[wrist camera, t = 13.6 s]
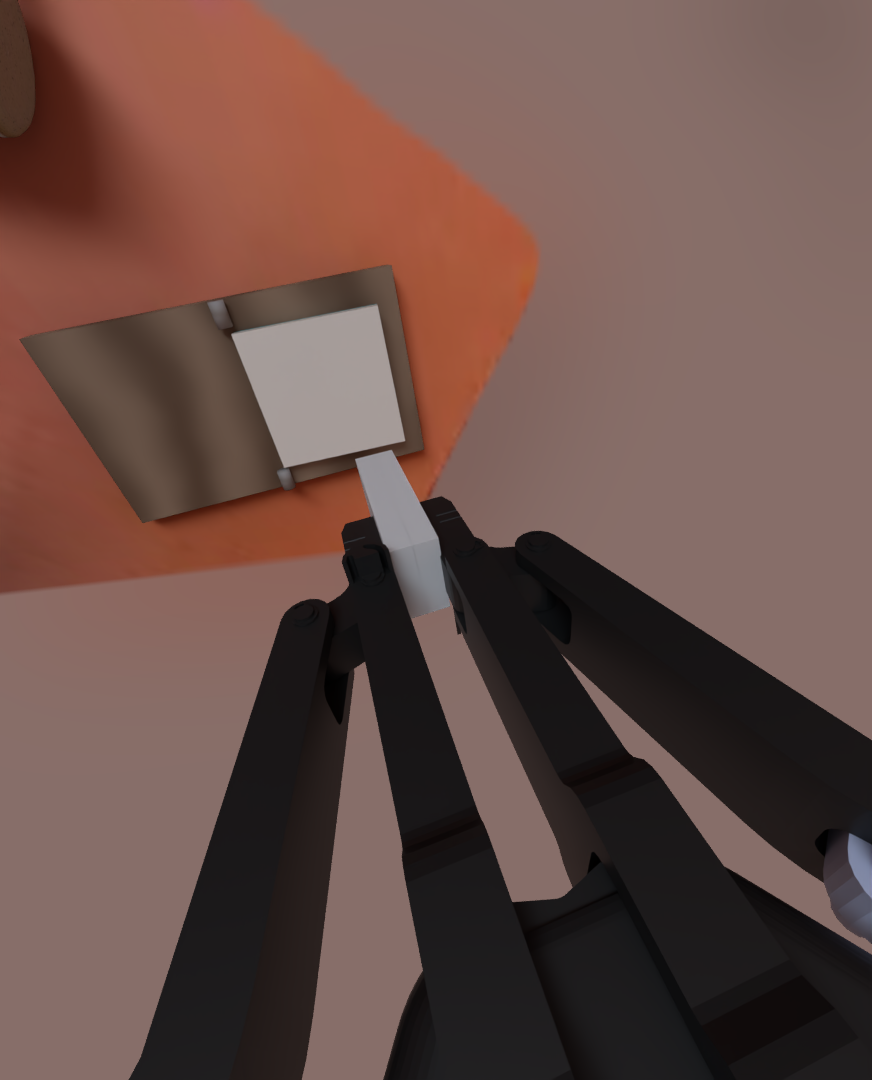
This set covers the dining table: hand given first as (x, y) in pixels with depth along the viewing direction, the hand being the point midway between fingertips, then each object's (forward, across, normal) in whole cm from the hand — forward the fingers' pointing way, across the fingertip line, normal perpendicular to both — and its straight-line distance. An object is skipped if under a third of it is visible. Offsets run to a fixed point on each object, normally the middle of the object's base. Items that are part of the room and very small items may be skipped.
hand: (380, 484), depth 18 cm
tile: (+18, -1, -1) cm, 18 cm away
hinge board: (+21, -6, -1) cm, 22 cm away
